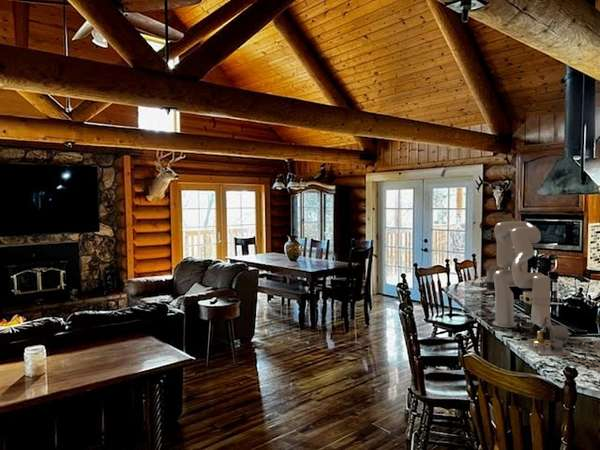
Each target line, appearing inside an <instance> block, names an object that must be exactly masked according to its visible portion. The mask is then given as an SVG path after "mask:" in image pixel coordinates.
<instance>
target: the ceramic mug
mask: <svg viewBox="0 0 600 450" xmlns="http://www.w3.org/2000/svg"><path fill="white" fill-rule="evenodd" d="M569 337H570V334H569V330H568V327H567V325H565V324H564V325H563V324H562V325H559V324H558V325H552V326H551V332H550V340H551V339H559V340H562V341H563V345H565V344H567V342H568V341H569V339H570V338H569ZM550 340H549V341H550Z"/></svg>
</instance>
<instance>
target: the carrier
mask: <svg viewBox="0 0 600 450" xmlns="http://www.w3.org/2000/svg"><path fill="white" fill-rule="evenodd" d="M536 339H537V338H529V339H527V340H521V343H520V344H521V345H523V346H524V347H526V348H528V349H529V350H530V351H532V352H533V353H534V352H535V353H534V354H535V355H537V354H538V355H537V356H565V355H566V356H569V355H570V351H569V350H567V349H565V348H563V347H564V344H563V342H564V341H562V340H559V339H551V340H546V341H548V342H549V345H537V344H534V343H533V340H536Z"/></svg>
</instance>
